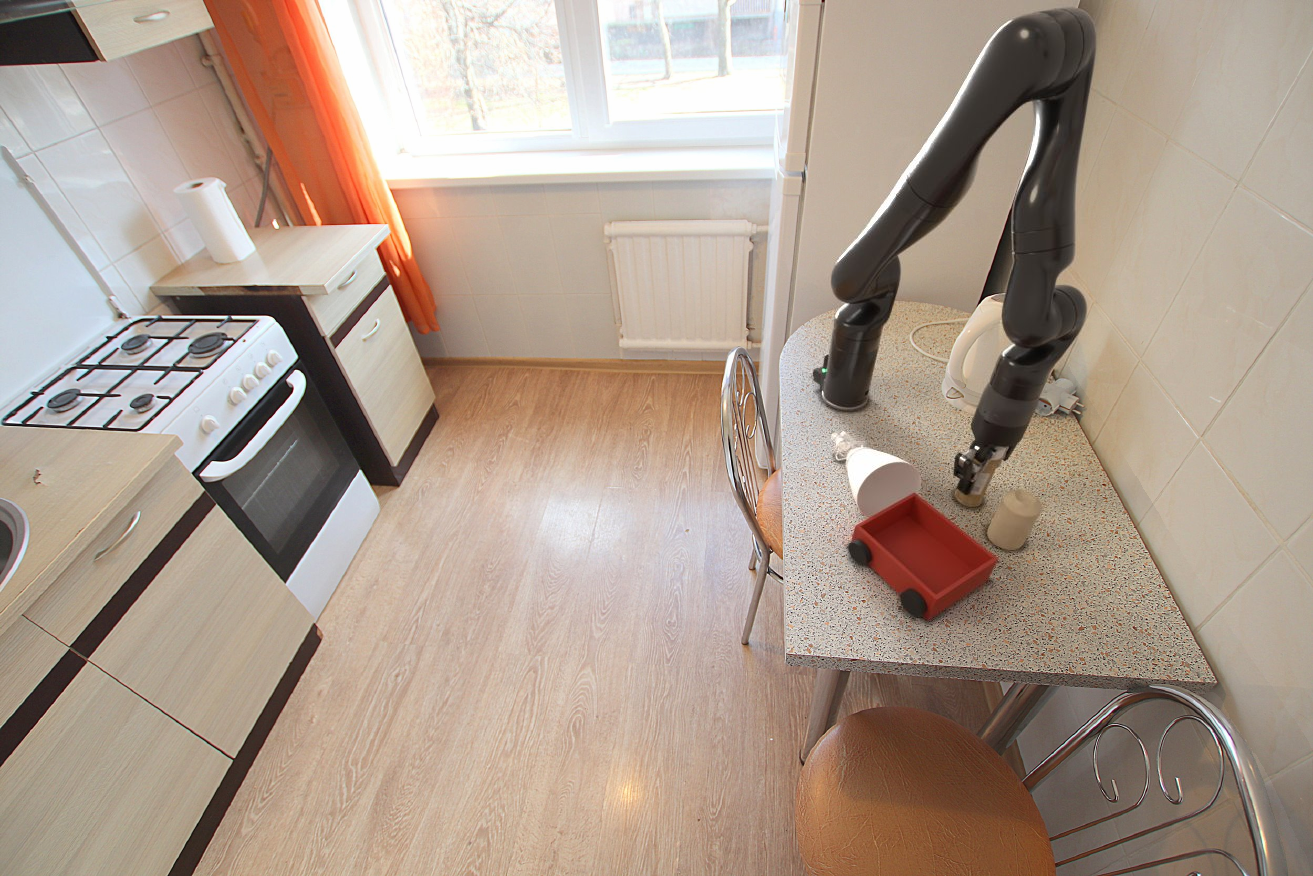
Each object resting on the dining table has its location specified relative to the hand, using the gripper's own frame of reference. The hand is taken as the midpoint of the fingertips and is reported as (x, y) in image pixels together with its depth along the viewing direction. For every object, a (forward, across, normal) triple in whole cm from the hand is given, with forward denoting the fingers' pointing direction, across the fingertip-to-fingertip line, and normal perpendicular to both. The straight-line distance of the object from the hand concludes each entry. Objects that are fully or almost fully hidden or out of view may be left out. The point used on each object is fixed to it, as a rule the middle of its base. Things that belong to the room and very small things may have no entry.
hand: (972, 485), depth 106 cm
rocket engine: (+3, +11, -12) cm, 17 cm away
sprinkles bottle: (+3, 0, 0) cm, 3 cm away
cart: (+3, +18, +5) cm, 19 cm away
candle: (+3, +2, +9) cm, 10 cm away
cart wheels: (+3, +18, +5) cm, 19 cm away
